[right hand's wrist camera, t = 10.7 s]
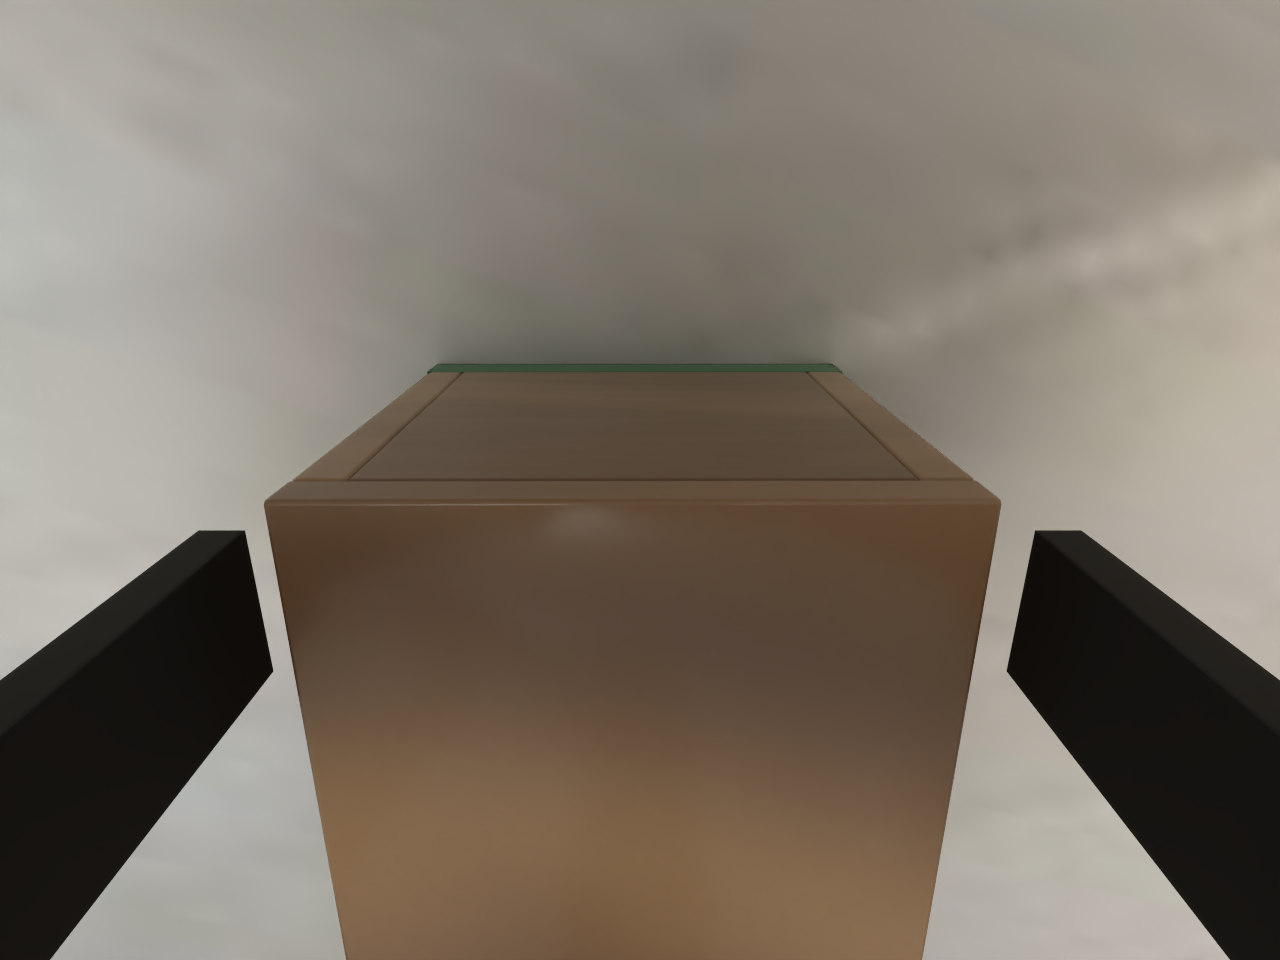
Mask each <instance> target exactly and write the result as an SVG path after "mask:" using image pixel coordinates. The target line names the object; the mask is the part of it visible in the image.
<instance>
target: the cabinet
mask: <svg viewBox="0 0 1280 960" xmlns="http://www.w3.org/2000/svg"><path fill="white" fill-rule="evenodd" d="M427 373H428V375H426V376H425V377H424V378H422V379H421V380H420V381H419V382H417V383H416V384H415V385H413V386H412V387H411V388H410V389H408V390H407V391H406V392H405V393H403V394H402V395H401V396H399V397H398V398H397V399H396V400H394V401H393V402H392V403H390V404H389V405H388V406H387V407H385V408H384V409H383V410H382V411H380V412H379V413H378V414H376V415H375V416H374V417H373V418H371V419H370V420H369V421H367V422H366V423H365V424H364V425H362V426H361V427H360V428H358V429H357V430H356V431H355V432H353V433H352V434H351V435H350V436H348V437H347V438H346V439H344V440H343V441H342V442H341V443H339V444H338V445H337V446H335V447H334V448H333V449H332V450H330V451H329V452H328V453H327V454H325V455H324V456H323V457H321V458H320V459H319V460H318V461H316V462H315V463H314V464H312V465H311V466H310V467H309V468H307V469H306V470H305V471H303V472H302V473H301V474H300V475H298V476H297V477H296V478H295V479H293V482H289V483H287V484H286V485H284V486H283V487H282V488H280V489H279V490H278V491H277V492H275V493H274V494H273V495H271V496H270V497H269V498H268V499H266V500H265V502H264V508H265V514H266V519H267V525H268V530H269V536H270V541H271V547H272V552H273V558H274V563H275V569H276V574H277V580H278V585H279V591H280V596H281V602H282V608H283V613H284V619H285V624H286V630H287V635H288V641H289V646H290V652H291V657H292V663H293V668H294V674H295V679H296V685H297V690H298V696H299V701H300V707H301V712H302V718H303V723H304V729H305V734H306V740H307V745H308V751H309V756H310V762H311V767H312V773H313V778H314V784H315V790H316V795H317V801H318V806H319V812H320V817H321V823H322V828H323V834H324V839H325V845H326V850H327V856H328V861H329V867H330V872H331V878H332V883H333V889H334V894H335V900H336V905H337V911H338V916H339V922H340V927H341V933H342V938H343V944H344V949H345V955H346V960H922V957H923V951H924V945H925V939H926V934H927V928H928V922H929V916H930V911H931V905H932V899H933V893H934V888H935V882H936V876H937V870H938V865H939V859H940V853H941V847H942V842H943V836H944V830H945V824H946V819H947V813H948V807H949V801H950V796H951V790H952V784H953V779H954V773H955V767H956V761H957V756H958V750H959V744H960V738H961V733H962V727H963V721H964V715H965V710H966V704H967V698H968V692H969V687H970V681H971V675H972V669H973V664H974V658H975V652H976V646H977V641H978V635H979V629H980V623H981V618H982V612H983V606H984V600H985V595H986V589H987V583H988V577H989V572H990V566H991V560H992V554H993V549H994V543H995V537H996V531H997V526H998V520H999V514H1000V508H1001V501H1000V499H999V498H998V497H996V496H995V495H994V494H993V493H991V492H990V491H989V490H988V489H986V488H985V487H984V486H983V485H981V484H980V483H979V482H977V481H974V480H973V478H972V477H971V476H969V475H968V474H967V473H966V472H964V471H963V470H962V469H961V468H959V467H958V466H957V465H955V464H954V463H953V462H952V461H950V460H949V459H948V458H947V457H945V456H944V455H943V454H942V453H940V452H939V451H938V450H937V449H935V448H934V447H933V446H932V445H930V444H929V443H928V442H927V441H925V440H924V439H923V438H922V437H920V436H919V435H918V434H917V433H915V432H914V431H913V430H912V429H910V428H909V427H908V426H907V425H905V424H904V423H903V422H902V421H900V420H899V419H898V418H897V417H895V416H894V415H893V414H891V413H890V412H889V411H888V410H886V409H885V408H884V407H883V406H881V405H880V404H879V403H878V402H876V401H875V400H874V399H873V398H871V397H870V396H869V395H868V394H866V393H865V392H864V391H863V390H861V389H860V388H859V387H858V386H856V385H855V384H854V383H853V382H851V381H850V380H849V379H848V378H846V377H845V376H844V375H843V374H842V371H841V370H839V369H838V368H837V367H836V366H834V365H833V364H437V365H436V366H434V367H433V368H432V369H431V370H429V371H428V372H427Z"/></svg>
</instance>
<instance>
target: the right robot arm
mask: <svg viewBox="0 0 1280 960" xmlns="http://www.w3.org/2000/svg"><path fill="white" fill-rule="evenodd" d="M272 672H273V667H272V662H271V657H270V652H269V647H268V642H267V638H266V633H265V628H264V623H263V618H262V613H261V608H260V603H259V598H258V593H257V588H256V583H255V578H254V573H253V568H252V563H251V559H250V554H249V549H248V544H247V539H246V534H245V531H198V532H196V533H195V534H194V535H192V536H191V537H190V538H188V539H187V540H186V541H184V542H183V543H182V544H180V545H179V546H178V547H176V548H175V549H174V550H172V551H171V552H170V553H168V554H167V555H166V556H164V557H163V558H162V559H160V560H159V561H158V562H156V563H155V564H154V565H152V566H151V567H150V568H148V569H147V570H146V571H145V572H143V573H142V574H141V575H139V576H138V577H137V578H135V579H134V580H133V581H131V582H130V583H129V584H127V585H126V586H125V587H123V588H122V589H121V590H119V591H118V592H117V593H115V594H114V595H113V596H111V597H110V598H109V599H107V600H106V601H105V602H103V603H102V604H101V605H99V606H98V607H97V608H95V609H94V610H93V611H92V612H90V613H89V614H88V615H86V616H85V617H84V618H82V619H81V620H80V621H78V622H77V623H76V624H74V625H73V626H72V627H70V628H69V629H68V630H66V631H65V632H64V633H62V634H61V635H60V636H58V637H57V638H56V639H54V640H53V641H52V642H50V643H49V644H48V645H46V646H45V647H44V648H42V649H41V650H40V651H39V652H37V653H36V654H35V655H33V656H32V657H31V658H29V659H28V660H27V661H25V662H24V663H23V664H21V665H20V666H19V667H17V668H16V669H15V670H13V671H12V672H11V673H9V674H8V675H7V676H5V677H4V678H3V679H1V680H0V960H50V959H51V958H52V956H53V955H54V954H55V953H56V951H57V950H58V949H59V947H60V946H61V945H62V943H63V942H64V941H65V940H66V938H67V937H68V936H69V934H70V933H71V932H72V931H73V929H74V928H75V927H76V925H77V924H78V923H79V922H80V920H81V919H82V918H83V916H84V915H85V914H86V912H87V911H88V910H89V909H90V907H91V906H92V905H93V903H94V902H95V901H96V900H97V898H98V897H99V896H100V894H101V893H102V892H103V891H104V889H105V888H106V887H107V885H108V884H109V883H110V881H111V880H112V879H113V878H114V876H115V875H116V874H117V872H118V871H119V870H120V869H121V867H122V866H123V865H124V863H125V862H126V861H127V860H128V858H129V857H130V856H131V854H132V853H133V852H134V850H135V849H136V848H137V847H138V845H139V844H140V843H141V841H142V840H143V839H144V838H145V836H146V835H147V834H148V832H149V831H150V830H151V829H152V827H153V826H154V825H155V823H156V822H157V821H158V819H159V818H160V817H161V816H162V814H163V813H164V812H165V810H166V809H167V808H168V807H169V805H170V804H171V803H172V801H173V800H174V799H175V798H176V796H177V795H178V794H179V792H180V791H181V790H182V788H183V787H184V786H185V785H186V783H187V782H188V781H189V779H190V778H191V777H192V776H193V774H194V773H195V772H196V770H197V769H198V768H199V767H200V765H201V764H202V763H203V761H204V760H205V759H206V757H207V756H208V755H209V754H210V752H211V751H212V750H213V748H214V747H215V746H216V745H217V743H218V742H219V741H220V739H221V738H222V737H223V736H224V734H225V733H226V732H227V730H228V729H229V728H230V726H231V725H232V724H233V723H234V721H235V720H236V719H237V717H238V716H239V715H240V714H241V712H242V711H243V710H244V708H245V707H246V706H247V705H248V703H249V702H250V701H251V699H252V698H253V697H254V695H255V694H256V693H257V692H258V690H259V689H260V688H261V686H262V685H263V684H264V683H265V681H266V680H267V679H268V677H269V676H270V675H271V674H272ZM1007 672H1008V674H1009V675H1010V676H1011V677H1012V679H1013V680H1014V681H1015V683H1016V684H1017V685H1018V686H1019V688H1020V689H1021V690H1022V692H1023V693H1024V694H1025V695H1026V697H1027V698H1028V699H1029V701H1030V702H1031V703H1032V705H1033V706H1034V707H1035V708H1036V710H1037V711H1038V712H1039V714H1040V715H1041V716H1042V717H1043V719H1044V720H1045V721H1046V723H1047V724H1048V725H1049V726H1050V728H1051V729H1052V730H1053V732H1054V733H1055V734H1056V736H1057V737H1058V738H1059V739H1060V741H1061V742H1062V743H1063V745H1064V746H1065V747H1066V748H1067V750H1068V751H1069V752H1070V754H1071V755H1072V756H1073V757H1074V759H1075V760H1076V761H1077V763H1078V764H1079V765H1080V767H1081V768H1082V769H1083V770H1084V772H1085V773H1086V774H1087V776H1088V777H1089V778H1090V779H1091V781H1092V782H1093V783H1094V785H1095V786H1096V787H1097V788H1098V790H1099V791H1100V792H1101V794H1102V795H1103V796H1104V798H1105V799H1106V800H1107V801H1108V803H1109V804H1110V805H1111V807H1112V808H1113V809H1114V810H1115V812H1116V813H1117V814H1118V816H1119V817H1120V818H1121V819H1122V821H1123V822H1124V823H1125V825H1126V826H1127V827H1128V829H1129V830H1130V831H1131V832H1132V834H1133V835H1134V836H1135V838H1136V839H1137V840H1138V841H1139V843H1140V844H1141V845H1142V847H1143V848H1144V849H1145V850H1146V852H1147V853H1148V854H1149V856H1150V857H1151V858H1152V860H1153V861H1154V862H1155V863H1156V865H1157V866H1158V867H1159V869H1160V870H1161V871H1162V872H1163V874H1164V875H1165V876H1166V878H1167V879H1168V880H1169V881H1170V883H1171V884H1172V885H1173V887H1174V888H1175V889H1176V891H1177V892H1178V893H1179V894H1180V896H1181V897H1182V898H1183V900H1184V901H1185V902H1186V903H1187V905H1188V906H1189V907H1190V909H1191V910H1192V911H1193V912H1194V914H1195V915H1196V916H1197V918H1198V919H1199V920H1200V922H1201V923H1202V924H1203V925H1204V927H1205V928H1206V929H1207V931H1208V932H1209V933H1210V934H1211V936H1212V937H1213V938H1214V940H1215V941H1216V942H1217V943H1218V945H1219V946H1220V947H1221V949H1222V950H1223V951H1224V953H1225V954H1226V955H1227V956H1228V958H1229V959H1230V960H1280V680H1279V679H1277V678H1276V677H1275V676H1273V675H1272V674H1271V673H1269V672H1268V671H1267V670H1265V669H1264V668H1263V667H1261V666H1260V665H1259V664H1257V663H1256V662H1255V661H1253V660H1252V659H1251V658H1249V657H1248V656H1247V655H1245V654H1244V653H1243V652H1241V651H1240V650H1239V649H1238V648H1236V647H1235V646H1234V645H1232V644H1231V643H1230V642H1228V641H1227V640H1226V639H1224V638H1223V637H1222V636H1220V635H1219V634H1218V633H1216V632H1215V631H1214V630H1212V629H1211V628H1210V627H1208V626H1207V625H1206V624H1204V623H1203V622H1202V621H1200V620H1199V619H1198V618H1196V617H1195V616H1194V615H1192V614H1191V613H1190V612H1188V611H1187V610H1186V609H1185V608H1183V607H1182V606H1181V605H1179V604H1178V603H1177V602H1175V601H1174V600H1173V599H1171V598H1170V597H1169V596H1167V595H1166V594H1165V593H1163V592H1162V591H1161V590H1159V589H1158V588H1157V587H1155V586H1154V585H1153V584H1151V583H1150V582H1149V581H1147V580H1146V579H1145V578H1143V577H1142V576H1141V575H1139V574H1138V573H1137V572H1135V571H1134V570H1133V569H1132V568H1130V567H1129V566H1128V565H1126V564H1125V563H1124V562H1122V561H1121V560H1120V559H1118V558H1117V557H1116V556H1114V555H1113V554H1112V553H1110V552H1109V551H1108V550H1106V549H1105V548H1104V547H1102V546H1101V545H1100V544H1098V543H1097V542H1096V541H1094V540H1093V539H1092V538H1090V537H1089V536H1088V535H1086V534H1085V533H1084V532H1082V531H1035V534H1034V539H1033V544H1032V549H1031V554H1030V559H1029V563H1028V568H1027V573H1026V578H1025V583H1024V588H1023V593H1022V598H1021V603H1020V608H1019V613H1018V618H1017V623H1016V628H1015V633H1014V638H1013V642H1012V647H1011V652H1010V657H1009V662H1008V667H1007Z"/></svg>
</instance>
